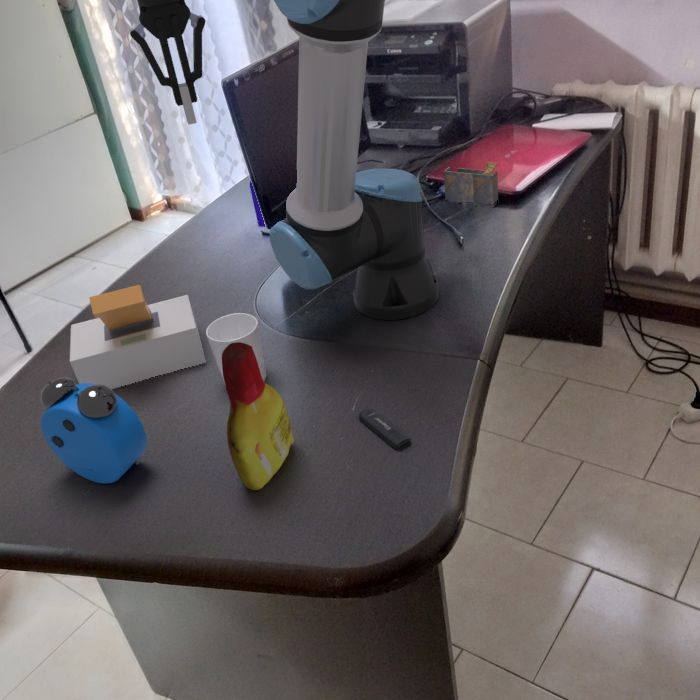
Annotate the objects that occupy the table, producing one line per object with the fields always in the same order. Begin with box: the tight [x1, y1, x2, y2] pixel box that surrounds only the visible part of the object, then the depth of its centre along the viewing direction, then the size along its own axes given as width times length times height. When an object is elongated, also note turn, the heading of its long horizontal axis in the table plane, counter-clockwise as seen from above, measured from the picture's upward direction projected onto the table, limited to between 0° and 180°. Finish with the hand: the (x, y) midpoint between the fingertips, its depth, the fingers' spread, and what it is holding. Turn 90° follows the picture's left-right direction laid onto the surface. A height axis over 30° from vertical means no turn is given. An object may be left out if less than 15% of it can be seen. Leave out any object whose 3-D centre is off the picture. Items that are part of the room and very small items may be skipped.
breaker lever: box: [88, 284, 153, 331], centre depth 115 cm, size 3×8×11 cm
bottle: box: [222, 342, 295, 491], centre depth 93 cm, size 12×6×20 cm, turn 161°
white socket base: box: [69, 294, 207, 390], centre depth 123 cm, size 12×20×7 cm, turn 107°
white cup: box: [205, 312, 267, 387], centre depth 113 cm, size 8×8×10 cm
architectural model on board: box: [443, 160, 499, 205], centre depth 158 cm, size 11×3×10 cm, turn 57°
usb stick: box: [358, 408, 411, 451], centre depth 101 cm, size 10×3×2 cm, turn 34°
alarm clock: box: [39, 377, 148, 484], centre depth 98 cm, size 13×6×15 cm, turn 65°
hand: (191, 121), depth 132 cm, fingers closed
